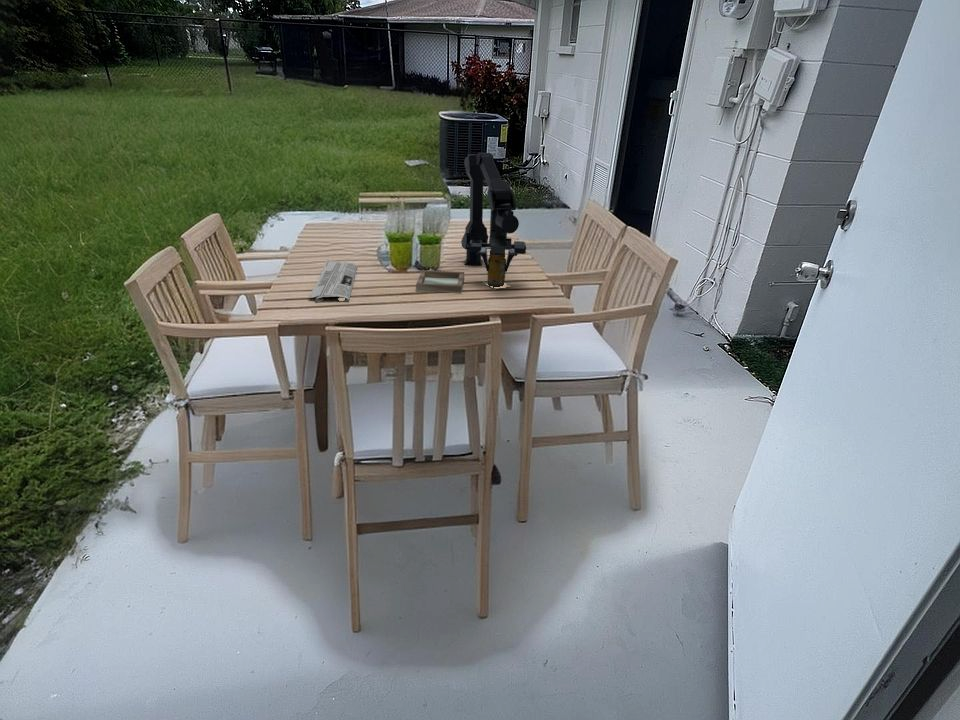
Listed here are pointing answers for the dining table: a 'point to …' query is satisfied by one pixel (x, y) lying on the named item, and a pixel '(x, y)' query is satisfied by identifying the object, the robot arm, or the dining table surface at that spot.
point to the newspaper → (335, 281)
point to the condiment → (496, 270)
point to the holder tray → (440, 281)
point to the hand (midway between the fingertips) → (496, 271)
